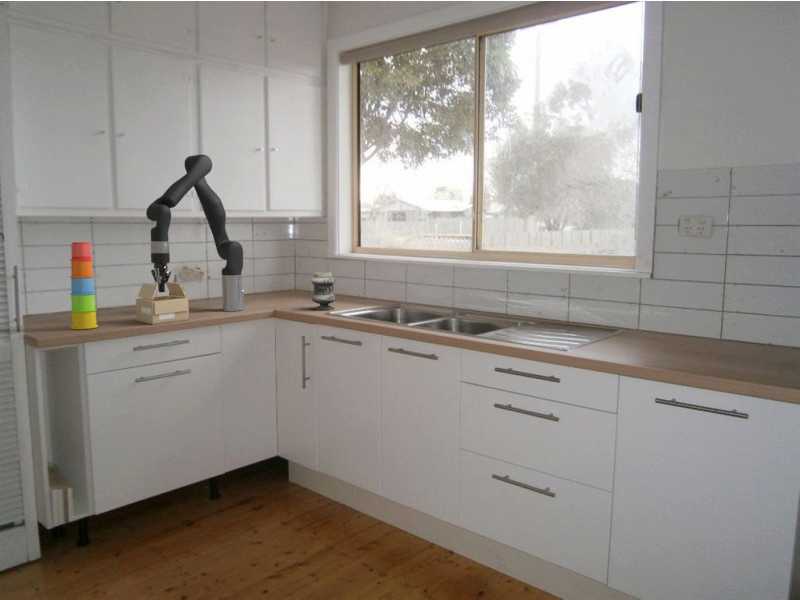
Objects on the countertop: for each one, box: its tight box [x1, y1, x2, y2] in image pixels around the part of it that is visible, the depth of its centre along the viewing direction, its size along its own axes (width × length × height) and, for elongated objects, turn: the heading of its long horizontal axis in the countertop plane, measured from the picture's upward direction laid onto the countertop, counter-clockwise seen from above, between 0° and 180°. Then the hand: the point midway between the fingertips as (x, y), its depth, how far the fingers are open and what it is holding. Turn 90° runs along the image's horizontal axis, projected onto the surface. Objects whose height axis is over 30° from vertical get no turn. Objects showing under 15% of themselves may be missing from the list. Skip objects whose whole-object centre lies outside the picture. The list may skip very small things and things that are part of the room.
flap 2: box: [165, 281, 187, 297], centre depth 280 cm, size 1×12×6 cm, turn 49°
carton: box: [135, 295, 190, 326], centre depth 276 cm, size 17×15×10 cm
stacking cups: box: [69, 241, 99, 330], centre depth 256 cm, size 10×10×35 cm
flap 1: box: [137, 283, 158, 299], centre depth 270 cm, size 1×12×6 cm, turn 48°
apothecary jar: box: [310, 271, 337, 311], centre depth 312 cm, size 12×12×18 cm
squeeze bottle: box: [168, 274, 186, 297], centre depth 299 cm, size 8×8×18 cm
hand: (161, 292), depth 275 cm, fingers closed
